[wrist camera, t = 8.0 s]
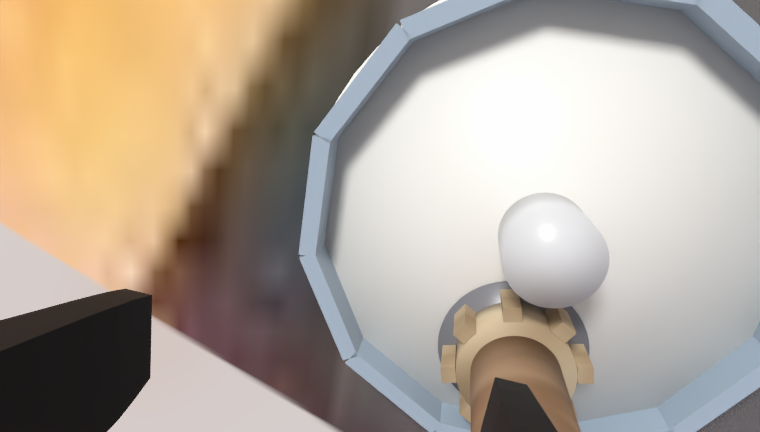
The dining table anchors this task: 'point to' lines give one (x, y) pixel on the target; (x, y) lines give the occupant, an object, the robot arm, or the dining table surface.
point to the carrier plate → (580, 143)
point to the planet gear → (516, 358)
